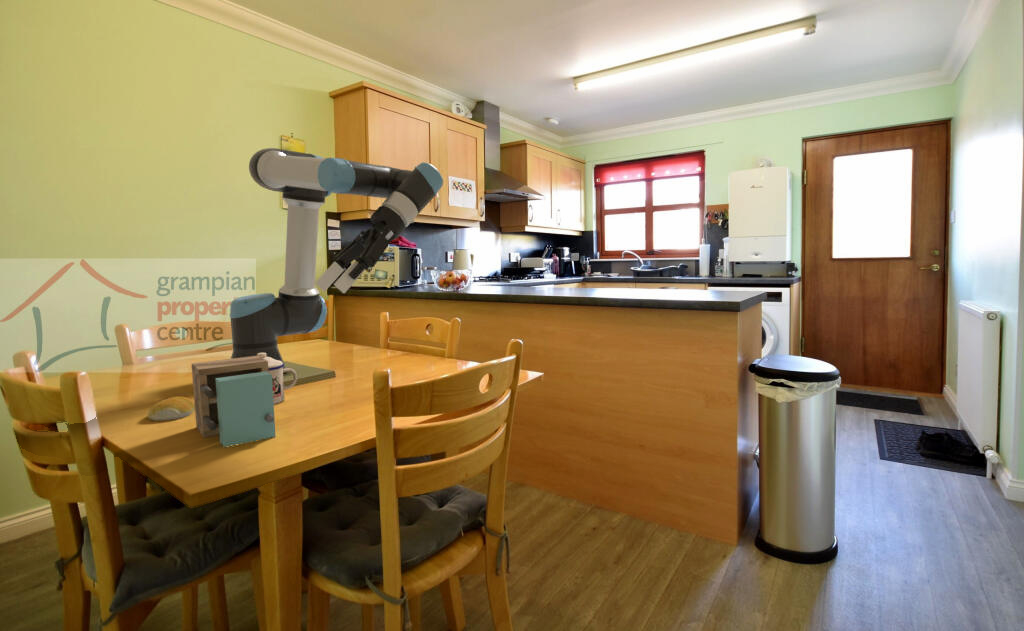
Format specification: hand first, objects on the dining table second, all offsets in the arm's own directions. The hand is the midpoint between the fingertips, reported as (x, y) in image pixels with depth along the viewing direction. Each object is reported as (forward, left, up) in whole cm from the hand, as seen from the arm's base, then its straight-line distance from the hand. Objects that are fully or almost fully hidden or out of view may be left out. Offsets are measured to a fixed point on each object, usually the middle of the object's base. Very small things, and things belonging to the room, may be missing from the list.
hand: (329, 288), depth 110 cm
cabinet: (-1, -19, -27) cm, 33 cm away
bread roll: (-21, -27, -28) cm, 44 cm away
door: (+7, -19, -27) cm, 34 cm away
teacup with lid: (-19, -8, -27) cm, 34 cm away
